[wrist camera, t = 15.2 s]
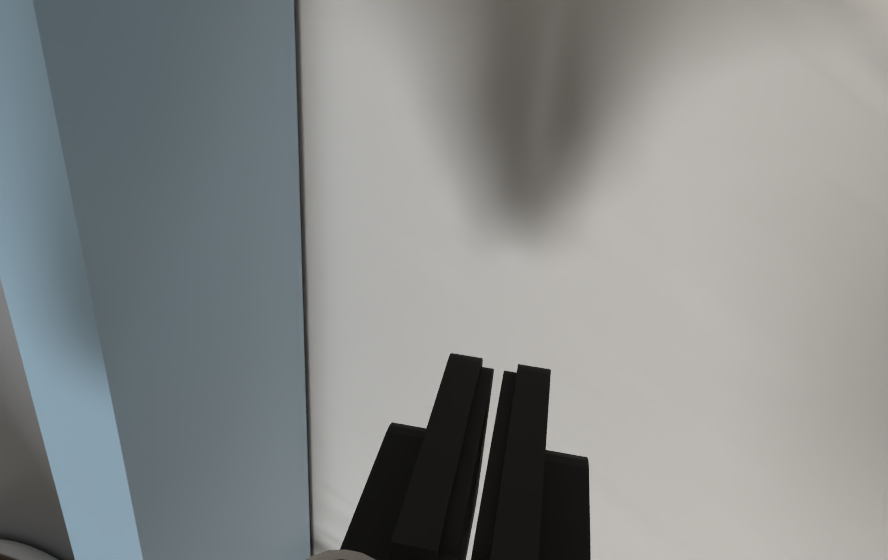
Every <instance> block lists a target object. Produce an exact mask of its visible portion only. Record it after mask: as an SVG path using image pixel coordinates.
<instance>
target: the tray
mask: <svg viewBox="0 0 888 560" xmlns="http://www.w3.org/2000/svg"><path fill="white" fill-rule="evenodd" d="M0 539H4V540H10V541H15V542H19V543H22V544H25V545H29V546H31V547H34V548H36V549H39V550H41V551H43V552H45V553H47V554H49V555H51V556H53V557H55V558H56V559H58V560H306V559H307V558H309V557H310V523H309V490H308V456H307V423H306V389H305V356H304V322H303V289H302V255H301V222H300V188H299V155H298V121H297V88H296V54H295V21H294V0H0Z"/></svg>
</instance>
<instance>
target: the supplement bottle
mask: <svg viewBox="0 0 888 560" xmlns="http://www.w3.org/2000/svg"><path fill="white" fill-rule="evenodd" d="M0 560H58V559H56V558H55V557H53V556H51V555H49V554H47V553H45V552H43V551H41V550H39V549H36V548H34V547H31V546H29V545H25V544H22V543H19V542H15V541H10V540H4V539H0Z"/></svg>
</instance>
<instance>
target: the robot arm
mask: <svg viewBox="0 0 888 560" xmlns="http://www.w3.org/2000/svg"><path fill="white" fill-rule="evenodd" d="M482 361H483V359H482V358H477V357H471V356H465V355H459V354H453V353H451V354H450V356H449V359H448V362H447V365H446V368H445V371H444V375H443V378H442V381H441V384H440V387H439V391H438V394H437V397H436V400H435V403H434V406H433V410H432V413H431V416H430V419H429V422H428V425H427V429H425V428H420V427H414V426H409V425H403V424H398V423H391V424H390V426H389V428H388V430H387V432H386V434H385V437H384V440H383V442H382V445H381V447H380V450H379V452H378V455H377V457H376V460H375V462H374V465H373V467H372V470H371V472H370V475H369V477H368V480H367V483H366V485H365V488H364V490H363V493H362V495H361V498H360V500H359V503H358V505H357V508H356V510H355V513H354V515H353V518H352V521H351V523H350V526H349V528H348V531H347V533H346V536H345V538H344V541H343V543H342V546H341V548H340V550H330V551H325V552H322V553H319V554H316V555H313V556H311V557H309V558H307V559H306V560H466V555H467V550H468V545H469V539H470V534H471V528H472V523H473V517H474V512H475V506H476V500H477V494H478V487H479V479H480V472H481V464H482V457H483V449H484V441H485V434H486V426H487V419H488V411H489V403H490V396H491V388H492V381H493V373H494V369H491V368H485V367H482ZM550 374H551V370H550V369H544V368H538V367H532V366H526V365H520V364H518V369H517V373H515V372H509V371H504V374H503V380H502V385H501V391H500V397H499V402H498V408H497V414H496V419H495V425H494V431H493V436H492V442H491V448H490V453H489V459H488V465H487V471H486V476H485V482H484V488H483V493H482V499H481V505H480V510H479V516H478V522H477V527H476V533H475V539H474V545H473V551H472V557H471V560H590V506H589V464H588V458H587V457H582V456H576V455H571V454H565V453H559V452H554V451H548V450H545V449H546V434H547V419H548V404H549V389H550Z"/></svg>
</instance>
